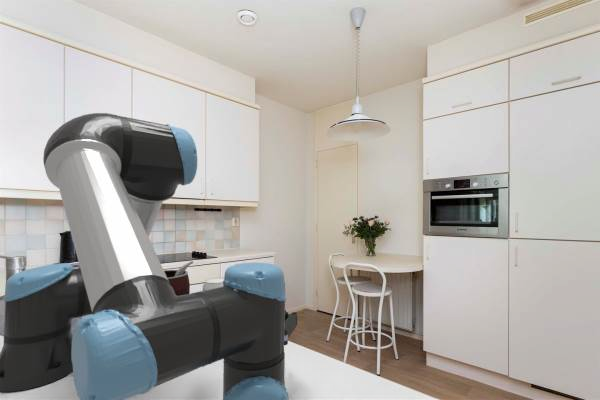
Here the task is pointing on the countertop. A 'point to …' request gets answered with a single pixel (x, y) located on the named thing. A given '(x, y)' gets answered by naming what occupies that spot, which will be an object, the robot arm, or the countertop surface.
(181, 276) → the mate gourd
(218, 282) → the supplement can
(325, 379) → the countertop surface
